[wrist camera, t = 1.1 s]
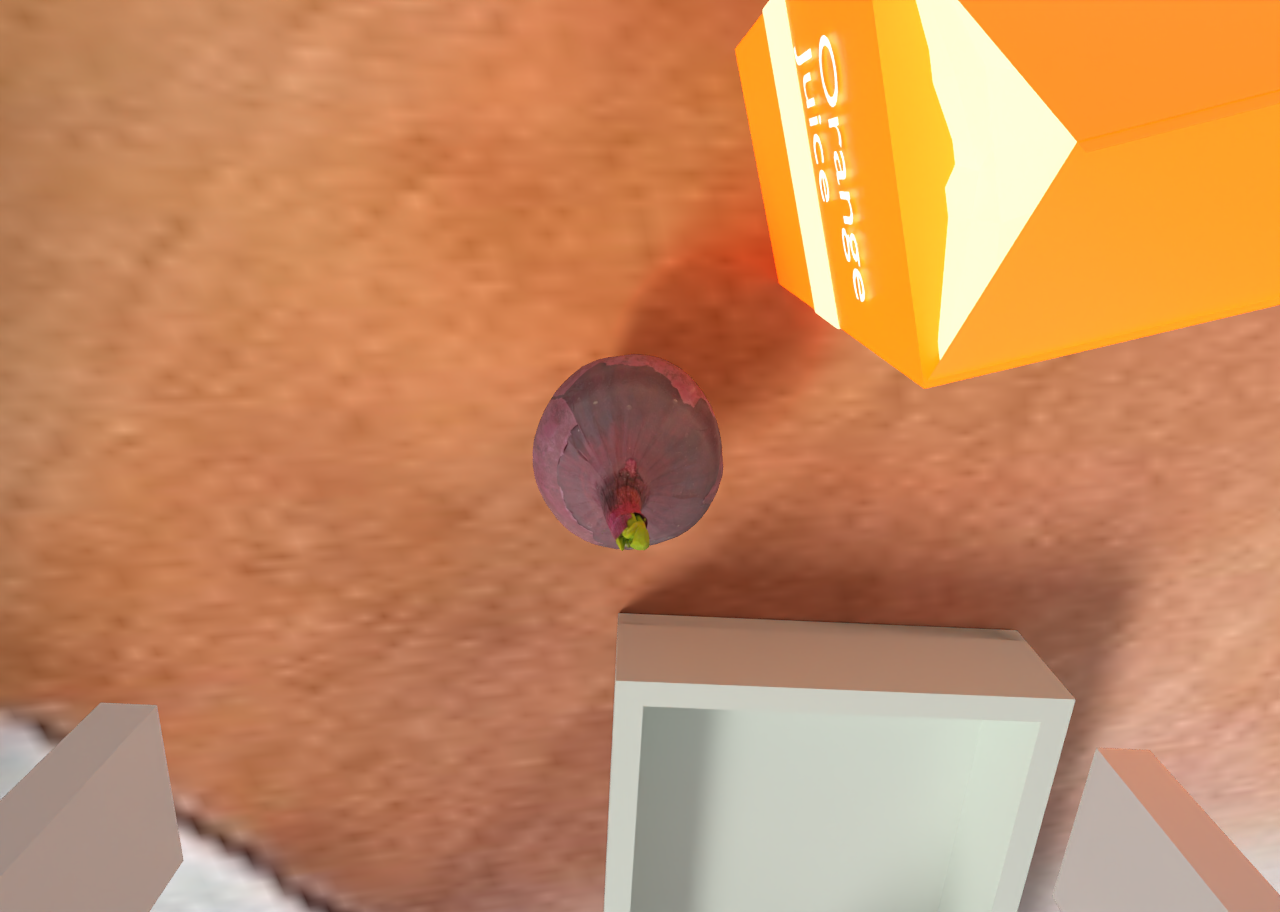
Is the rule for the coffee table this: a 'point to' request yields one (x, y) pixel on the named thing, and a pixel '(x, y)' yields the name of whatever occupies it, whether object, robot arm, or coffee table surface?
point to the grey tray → (826, 766)
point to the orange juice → (1017, 170)
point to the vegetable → (628, 452)
